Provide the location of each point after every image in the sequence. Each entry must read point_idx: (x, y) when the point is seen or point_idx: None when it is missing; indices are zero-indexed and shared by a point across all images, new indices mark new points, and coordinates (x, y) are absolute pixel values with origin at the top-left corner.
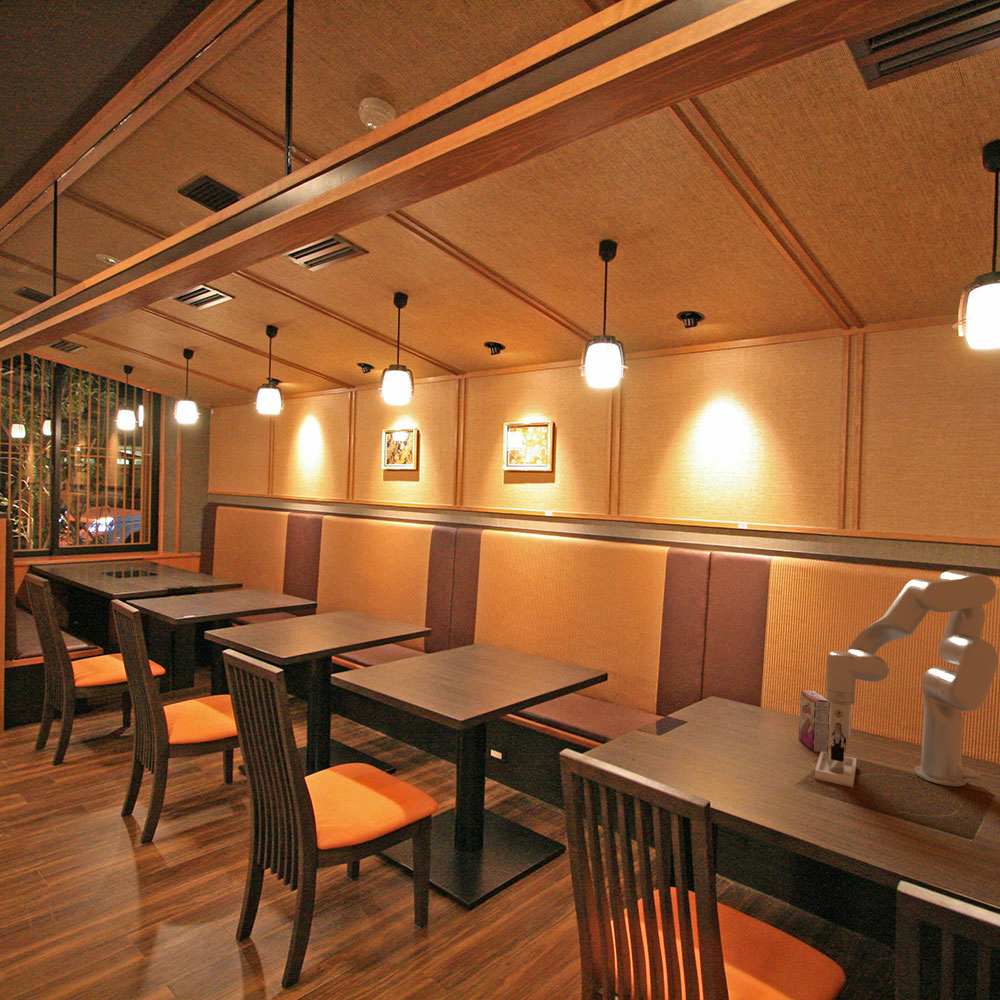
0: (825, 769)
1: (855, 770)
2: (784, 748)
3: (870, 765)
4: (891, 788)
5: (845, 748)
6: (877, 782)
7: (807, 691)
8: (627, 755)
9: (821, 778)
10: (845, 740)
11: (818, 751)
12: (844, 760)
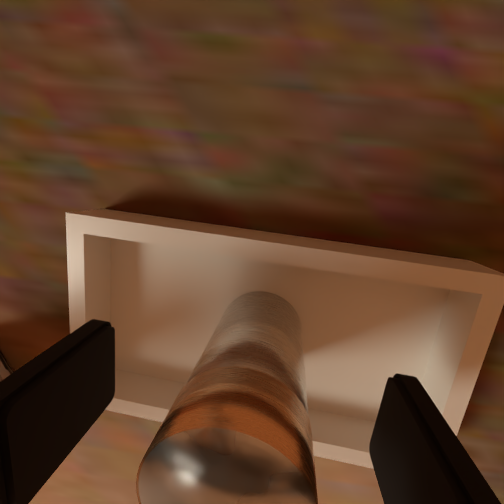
0: None
1: (177, 220)
2: (63, 494)
3: (24, 124)
4: (371, 15)
5: (97, 329)
6: (299, 104)
7: None
8: None
9: None
10: (28, 381)
11: (5, 368)
12: (99, 276)
